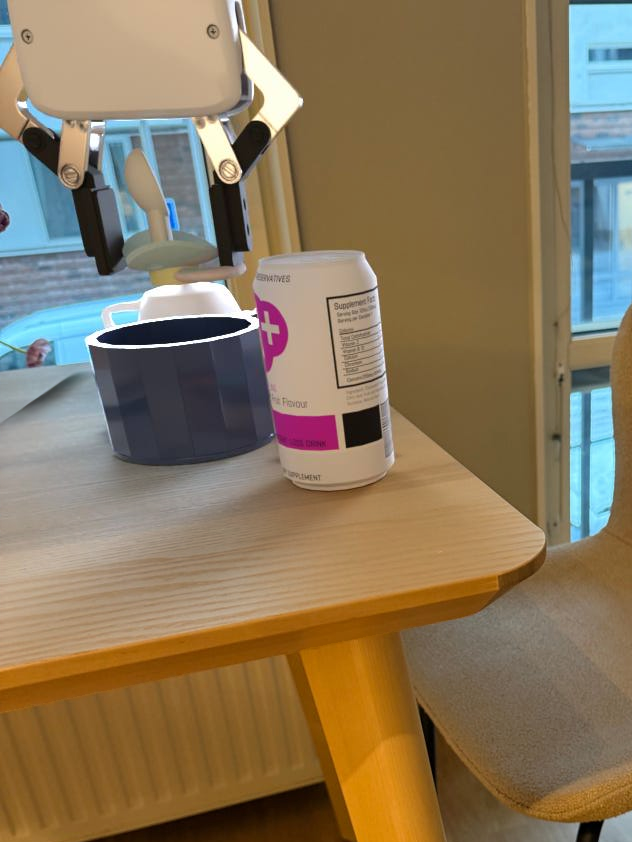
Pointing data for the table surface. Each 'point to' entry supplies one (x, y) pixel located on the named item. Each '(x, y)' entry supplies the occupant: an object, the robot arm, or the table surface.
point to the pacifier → (167, 236)
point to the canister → (183, 388)
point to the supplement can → (325, 367)
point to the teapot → (177, 303)
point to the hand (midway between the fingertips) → (173, 266)
